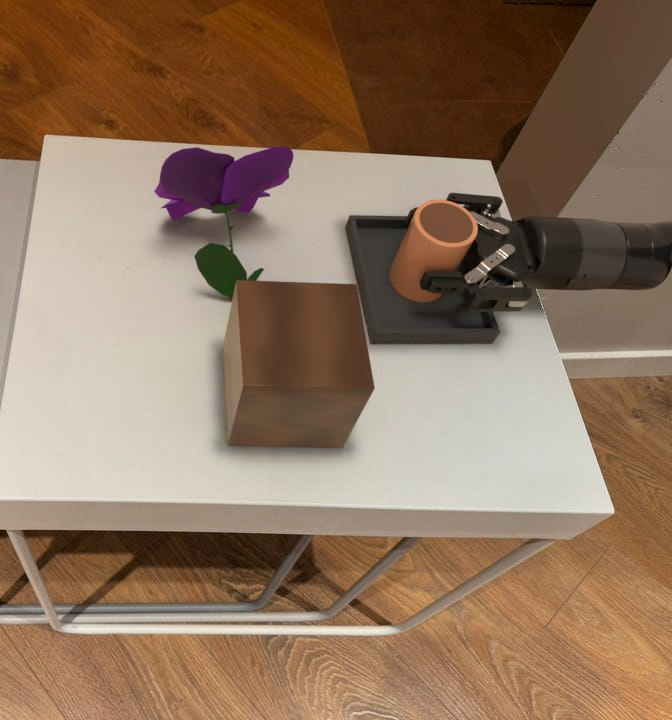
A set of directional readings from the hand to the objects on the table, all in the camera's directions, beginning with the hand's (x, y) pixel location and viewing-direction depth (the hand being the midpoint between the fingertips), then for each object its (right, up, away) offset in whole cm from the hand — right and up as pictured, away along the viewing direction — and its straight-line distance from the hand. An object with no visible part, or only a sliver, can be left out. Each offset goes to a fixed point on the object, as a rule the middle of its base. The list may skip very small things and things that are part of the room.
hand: (415, 248), depth 80 cm
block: (-14, -15, -4) cm, 21 cm away
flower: (-20, 0, +5) cm, 20 cm away
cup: (+2, -3, +5) cm, 6 cm away
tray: (+2, -3, +5) cm, 6 cm away
